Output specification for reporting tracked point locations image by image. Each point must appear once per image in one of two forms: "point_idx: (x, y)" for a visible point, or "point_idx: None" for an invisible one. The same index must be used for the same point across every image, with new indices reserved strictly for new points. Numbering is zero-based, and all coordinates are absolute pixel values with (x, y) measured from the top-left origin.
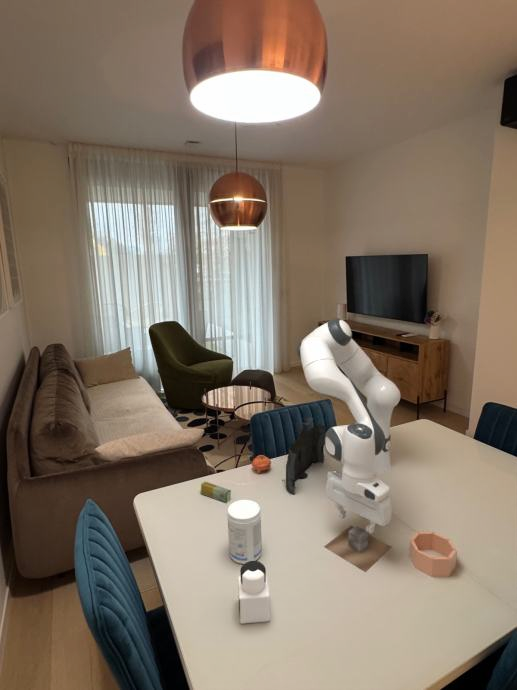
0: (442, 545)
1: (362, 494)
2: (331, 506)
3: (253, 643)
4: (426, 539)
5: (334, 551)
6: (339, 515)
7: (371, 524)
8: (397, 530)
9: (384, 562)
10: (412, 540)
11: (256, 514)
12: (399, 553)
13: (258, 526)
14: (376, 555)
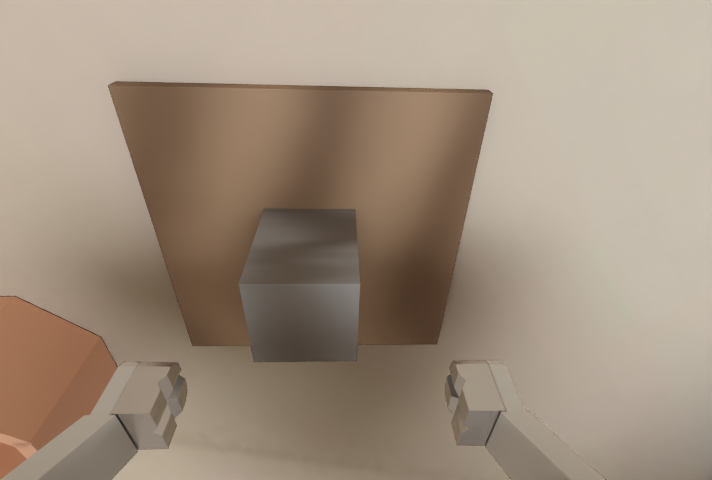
0: (4, 466)
1: None
2: (589, 380)
3: None
4: None
5: (400, 103)
6: (497, 374)
7: (35, 477)
8: (264, 420)
9: (137, 245)
10: (14, 443)
11: None
12: (150, 334)
13: None
14: (188, 255)
